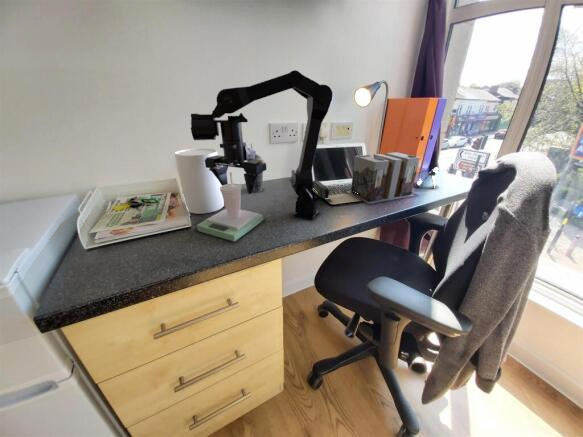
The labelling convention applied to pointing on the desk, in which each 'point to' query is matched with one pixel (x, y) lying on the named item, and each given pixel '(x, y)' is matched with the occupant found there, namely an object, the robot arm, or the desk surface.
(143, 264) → the desk surface
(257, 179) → the beverage cup
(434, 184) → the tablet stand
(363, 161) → the bookend
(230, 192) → the smoothie
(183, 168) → the canister
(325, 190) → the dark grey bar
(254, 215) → the scale
